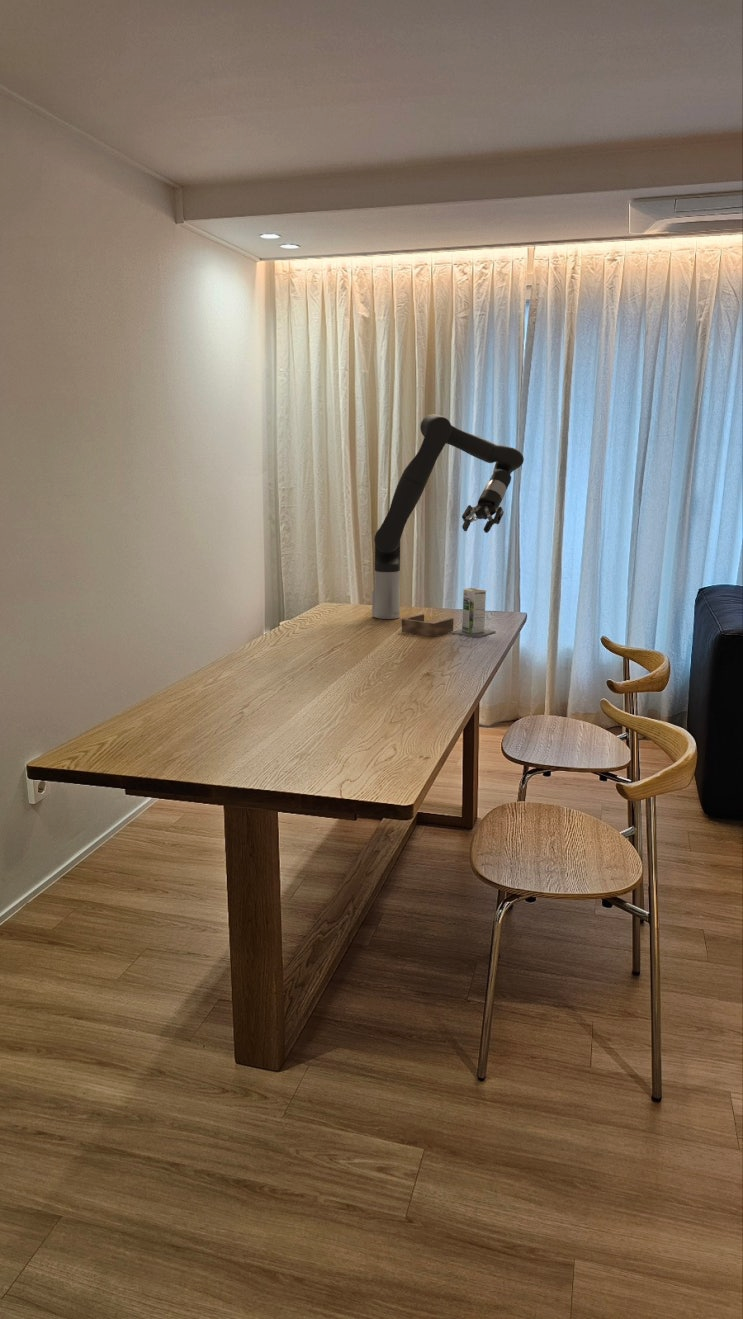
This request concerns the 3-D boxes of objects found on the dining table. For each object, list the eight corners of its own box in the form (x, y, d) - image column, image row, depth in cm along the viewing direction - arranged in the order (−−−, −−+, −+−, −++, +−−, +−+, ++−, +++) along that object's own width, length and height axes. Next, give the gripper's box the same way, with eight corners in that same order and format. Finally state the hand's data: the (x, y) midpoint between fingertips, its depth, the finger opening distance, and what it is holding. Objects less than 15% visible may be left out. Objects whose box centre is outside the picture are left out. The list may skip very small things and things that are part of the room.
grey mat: (450, 633, 311) (450, 632, 311) (467, 628, 320) (467, 627, 320) (478, 638, 305) (478, 636, 304) (495, 632, 313) (495, 631, 313)
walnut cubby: (401, 632, 314) (401, 619, 313) (421, 626, 323) (421, 613, 322) (433, 637, 306) (433, 623, 305) (453, 631, 315) (453, 618, 314)
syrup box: (461, 630, 313) (462, 588, 310) (476, 629, 316) (477, 587, 313) (470, 633, 308) (471, 590, 305) (485, 632, 311) (486, 589, 308)
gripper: (471, 487, 330) (453, 522, 324) (506, 489, 322) (488, 524, 316) (478, 502, 336) (461, 536, 329) (513, 503, 327) (496, 539, 321)
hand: (474, 530), depth 323 cm, fingers open, 8 cm apart
